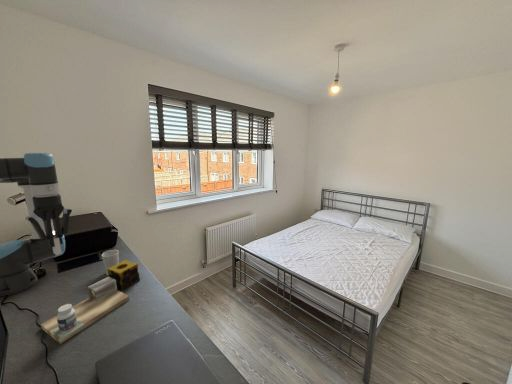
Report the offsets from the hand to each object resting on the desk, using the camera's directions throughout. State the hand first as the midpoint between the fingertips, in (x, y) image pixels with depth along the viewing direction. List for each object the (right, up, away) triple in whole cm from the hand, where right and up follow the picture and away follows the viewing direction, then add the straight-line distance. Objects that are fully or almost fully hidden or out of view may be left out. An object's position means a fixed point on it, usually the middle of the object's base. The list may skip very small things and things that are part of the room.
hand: (57, 253), depth 83 cm
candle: (+9, -25, +29) cm, 39 cm away
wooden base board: (+6, -28, +8) cm, 30 cm away
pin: (+5, -23, +16) cm, 29 cm away
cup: (-4, -22, +38) cm, 45 cm away
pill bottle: (+6, -28, -2) cm, 29 cm away
